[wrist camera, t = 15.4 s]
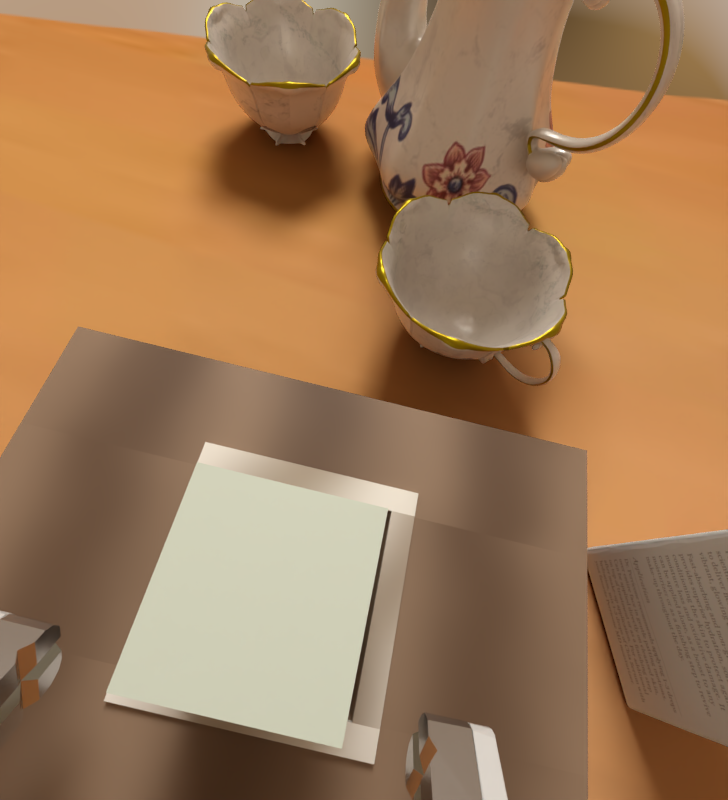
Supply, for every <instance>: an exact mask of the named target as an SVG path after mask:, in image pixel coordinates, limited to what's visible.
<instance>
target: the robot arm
mask: <svg viewBox="0 0 728 800" xmlns="http://www.w3.org/2000/svg"><path fill="white" fill-rule="evenodd" d="M60 637H61V633H60V626H59V625H55V624H51V623H47V622H43V621H39V620H35V619H31V618H27V617H23V616H19V615H15V614H12V613H8V612H4V611H0V749H1V748H2V747H3V745H4V744H5V743H6V742H7V740H8V739H9V738H10V737H11V735H12V734H13V733H14V732H15V730H16V729H17V728H18V726H19V725H20V724H21V723H22V716H23V709H24V708H26V707H28V706H29V705H31V704H33V703H35V702H36V701H38V700H40V698H41V697H42V696H43V694H44V693H45V692H46V691H47V689H48V688H49V687H50V685H51V683H52V682H53V680H54V678H55V676H56V674H57V672H58V670H59V667H60V664H61V660H62V651H61V649H60V648H59V647H58V646H57V644H56V641H57V640H58V639H59V638H60ZM418 730H419V731H418V732H416V733H414V734H413V735H412V737H411V740H410V742H409V746H408V751H407V757H406V770H405V786H406V788H407V790H408V792H409V794H410V796H411V798H412V800H508V797H507V792H506V787H505V783H504V778H503V773H502V768H501V763H500V758H499V753H498V748H497V743H496V738H495V734H494V732H493V730H492V729H491V728H489V727H487V726H482V725H478V724H473V723H469V722H467V721H463V720H458V719H454V718H449V717H444V716H440V715H435V714H431V713H426V712H424V713H423V714H421V716H420V719H419V721H418Z"/></svg>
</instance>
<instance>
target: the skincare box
mask: <svg viewBox="0 0 728 800" xmlns="http://www.w3.org/2000/svg"><path fill="white" fill-rule="evenodd" d="M587 568H588V571H589V575H590V578H591V582H592V585H593V588H594V592H595V595H596V599H597V602H598V606H599V609H600V612H601V616H602V619H603V623H604V626H605V630H606V633H607V636H608V640H609V643H610V647H611V650H612V654H613V657H614V661H615V664H616V668H617V671H618V675H619V678H620V681H621V685H622V688H623V692H624V695H625V699H626V703H627V705H628V707H629V708H631V709H633V710H635V711H638V712H640V713H643V714H645V715H648V716H651V717H653V718H656V719H658V720H661V721H663V722H666V723H668V724H671V725H673V726H676V727H678V728H681V729H683V730H686V731H688V732H691V733H693V734H696V735H699V736H701V737H704V738H706V739H709V740H711V741H714V742H717V743H719V744H722V745H724V746H727V747H728V529H727V530H720V531H712V532H705V533H697V534H690V535H682V536H674V537H666V538H658V539H650V540H643V541H635V542H628V543H621V544H613V545H605V546H597V547H591V548H587Z"/></svg>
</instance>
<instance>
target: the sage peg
mask: <svg viewBox="0 0 728 800" xmlns="http://www.w3.org/2000/svg"><path fill="white" fill-rule="evenodd" d="M387 512H388V508H384V507H380V506H376V505H372V504H367V503H363V502H359V501H355V500H351V499H347V498H343V497H339V496H335V495H330V494H326V493H322V492H318V491H314V490H310V489H306V488H302V487H298V486H293V485H289V484H285V483H281V482H277V481H273V480H269V479H265V478H261V477H256V476H252V475H248V474H244V473H240V472H236V471H232V470H228V469H224V468H219V467H215V466H211V465H207V464H203V463H199V462H197V464H196V466H195V469H194V471H193V474H192V476H191V479H190V481H189V484H188V486H187V489H186V491H185V494H184V496H183V499H182V501H181V504H180V507H179V509H178V512H177V514H176V517H175V519H174V522H173V524H172V527H171V529H170V532H169V534H168V537H167V539H166V542H165V544H164V547H163V550H162V552H161V555H160V557H159V560H158V562H157V565H156V567H155V570H154V572H153V575H152V577H151V580H150V582H149V585H148V587H147V590H146V593H145V595H144V598H143V600H142V603H141V605H140V608H139V610H138V613H137V615H136V618H135V620H134V623H133V625H132V628H131V630H130V633H129V635H128V638H127V641H126V643H125V646H124V648H123V651H122V653H121V656H120V658H119V661H118V663H117V666H116V668H115V671H114V673H113V676H112V678H111V681H110V684H109V686H108V689H107V691H106V693H109V694H113V695H117V696H121V697H126V698H130V699H134V700H138V701H143V702H147V703H151V704H155V705H159V706H164V707H168V708H172V709H176V710H180V711H185V712H189V713H193V714H197V715H202V716H206V717H210V718H214V719H218V720H223V721H227V722H231V723H235V724H239V725H244V726H248V727H252V728H256V729H260V730H265V731H269V732H273V733H277V734H282V735H286V736H290V737H294V738H298V739H303V740H307V741H311V742H315V743H319V744H324V745H328V746H332V747H336V748H340V749H342V746H343V741H344V736H345V730H346V725H347V720H348V715H349V710H350V704H351V699H352V694H353V689H354V684H355V678H356V673H357V668H358V663H359V658H360V652H361V647H362V642H363V637H364V632H365V626H366V621H367V616H368V611H369V606H370V600H371V595H372V590H373V585H374V580H375V575H376V569H377V564H378V559H379V554H380V549H381V543H382V538H383V533H384V528H385V523H386V517H387Z"/></svg>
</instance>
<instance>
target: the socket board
mask: <svg viewBox="0 0 728 800" xmlns="http://www.w3.org/2000/svg"><path fill="white" fill-rule="evenodd" d="M197 462H199V463H203V464H207V465H211V466H215V467H219V468H224V469H228V470H232V471H236V472H240V473H244V474H248V475H252V476H256V477H261V478H265V479H269V480H273V481H277V482H281V483H285V484H289V485H293V486H298V487H302V488H306V489H310V490H314V491H318V492H322V493H326V494H330V495H335V496H339V497H343V498H347V499H351V500H355V501H359V502H363V503H367V504H372V505H376V506H380V507H384V508H388V512H387V517H386V523H385V528H384V533H383V538H382V543H381V549H380V554H379V559H378V564H377V569H376V575H375V580H374V585H373V590H372V595H371V600H370V606H369V611H368V616H367V621H366V626H365V632H364V637H363V642H362V647H361V652H360V658H359V663H358V668H357V673H356V678H355V684H354V689H353V694H352V699H351V704H350V710H349V715H348V720H347V725H346V730H345V736H344V741H343V746H342V749H340V748H336V747H332V746H328V745H324V744H319V743H315V742H311V741H307V740H303V739H298V738H294V737H290V736H286V735H282V734H277V733H273V732H269V731H265V730H260V729H256V728H252V727H248V726H244V725H239V724H235V723H231V722H227V721H223V720H218V719H214V718H210V717H206V716H202V715H197V714H193V713H189V712H185V711H180V710H176V709H172V708H168V707H164V706H159V705H155V704H151V703H147V702H143V701H138V700H134V699H130V698H126V697H121V696H117V695H113V694H109V693H106V691H107V689H108V686H109V684H110V681H111V678H112V676H113V673H114V671H115V668H116V666H117V663H118V661H119V658H120V656H121V653H122V651H123V648H124V646H125V643H126V641H127V638H128V635H129V633H130V630H131V628H132V625H133V623H134V620H135V618H136V615H137V613H138V610H139V608H140V605H141V603H142V600H143V598H144V595H145V593H146V590H147V587H148V585H149V582H150V580H151V577H152V575H153V572H154V570H155V567H156V565H157V562H158V560H159V557H160V555H161V552H162V550H163V547H164V544H165V542H166V539H167V537H168V534H169V532H170V529H171V527H172V524H173V522H174V519H175V517H176V514H177V512H178V509H179V507H180V504H181V501H182V499H183V496H184V494H185V491H186V489H187V486H188V484H189V481H190V479H191V476H192V474H193V471H194V469H195V466H196V464H197ZM0 611H4V612H8V613H12V614H15V615H19V616H23V617H27V618H31V619H35V620H39V621H43V622H47V623H51V624H55V625H59V626H60V633H61V637H60V638H59V639H58V640H57V641H56V644H57V646H58V647H59V648H60V649H61V651H62V660H61V664H60V667H59V670H58V672H57V674H56V676H55V678H54V680H53V682H52V683H51V685H50V687H49V688H48V689H47V691H46V692H45V693H44V694H43V696H42V697H41V698H40V700H38V701H36V702H35V703H33V704H31V705H29V706H28V707H26V708H24V709H23V716H22V723H21V724H20V725H19V726H18V728H17V729H16V730H15V732H14V733H13V734H12V735H11V737H10V738H9V739H8V740H7V742H6V743H5V744H4V745H3V747H2V748H1V749H0V800H412V798H411V796H410V794H409V792H408V790H407V788H406V786H405V770H406V757H407V751H408V746H409V742H410V740H411V737H412V735H413V734H414V733H416V732H418V731H419V730H418V721H419V719H420V716H421V714H423V713H424V712H426V713H431V714H435V715H440V716H444V717H449V718H454V719H458V720H463V721H467V722H469V723H473V724H478V725H482V726H487V727H489V728H491V729H492V730H493V732H494V734H495V738H496V743H497V748H498V753H499V758H500V763H501V768H502V773H503V778H504V783H505V787H506V792H507V797H508V800H588V646H587V451H586V450H582V449H578V448H574V447H570V446H566V445H562V444H558V443H554V442H549V441H545V440H541V439H537V438H533V437H529V436H525V435H521V434H517V433H513V432H508V431H504V430H500V429H496V428H492V427H488V426H484V425H480V424H476V423H472V422H467V421H463V420H459V419H455V418H451V417H447V416H443V415H439V414H435V413H431V412H426V411H422V410H418V409H414V408H410V407H406V406H402V405H398V404H394V403H390V402H385V401H381V400H377V399H373V398H369V397H365V396H361V395H357V394H353V393H349V392H344V391H340V390H336V389H332V388H328V387H324V386H320V385H316V384H312V383H308V382H303V381H299V380H295V379H291V378H287V377H283V376H279V375H275V374H271V373H267V372H262V371H258V370H254V369H250V368H246V367H242V366H238V365H234V364H230V363H226V362H221V361H217V360H213V359H209V358H205V357H201V356H197V355H193V354H189V353H185V352H180V351H176V350H172V349H168V348H164V347H160V346H156V345H152V344H148V343H144V342H139V341H135V340H131V339H127V338H123V337H119V336H115V335H111V334H107V333H103V332H98V331H94V330H90V329H86V328H82V327H78V328H77V330H76V331H75V333H74V335H73V336H72V338H71V340H70V341H69V343H68V345H67V346H66V348H65V350H64V351H63V353H62V355H61V357H60V358H59V360H58V362H57V363H56V365H55V367H54V368H53V370H52V372H51V373H50V375H49V377H48V378H47V380H46V382H45V383H44V385H43V387H42V388H41V390H40V392H39V393H38V395H37V397H36V398H35V400H34V402H33V403H32V405H31V407H30V409H29V410H28V412H27V414H26V415H25V417H24V419H23V420H22V422H21V424H20V425H19V427H18V429H17V430H16V432H15V434H14V435H13V437H12V439H11V440H10V442H9V444H8V445H7V447H6V449H5V450H4V452H3V454H2V455H1V457H0Z"/></svg>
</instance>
